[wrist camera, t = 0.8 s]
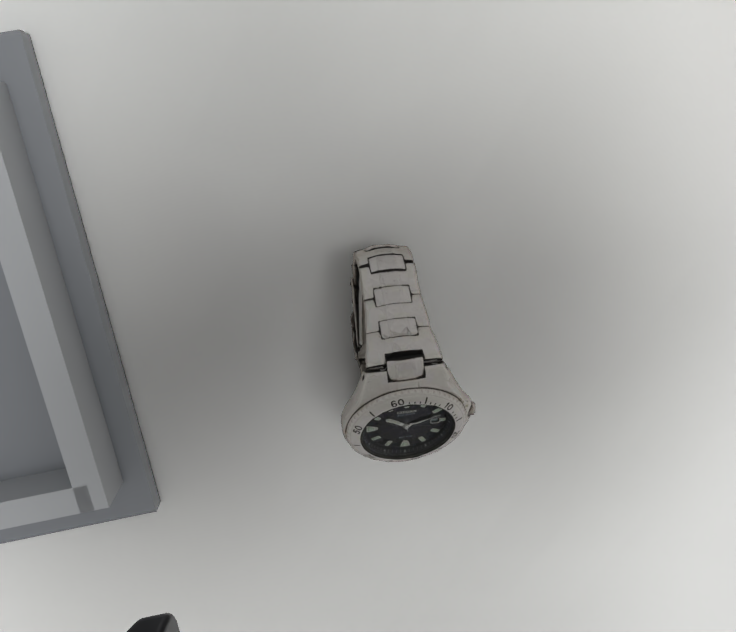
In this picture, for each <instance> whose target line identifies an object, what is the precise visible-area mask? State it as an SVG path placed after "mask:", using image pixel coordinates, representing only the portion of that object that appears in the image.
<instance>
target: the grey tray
mask: <svg viewBox="0 0 736 632" xmlns="http://www.w3.org/2000/svg"><path fill="white" fill-rule="evenodd" d="M159 503H160V499H159V495H158V492H157V488H156V484H155V481H154V477H153V474H152V470H151V467H150V463H149V459H148V456H147V452H146V449H145V445H144V442H143V438H142V434H141V431H140V427H139V424H138V420H137V417H136V413H135V410H134V406H133V402H132V399H131V395H130V392H129V388H128V385H127V381H126V377H125V374H124V370H123V367H122V363H121V360H120V356H119V352H118V349H117V345H116V342H115V338H114V335H113V331H112V327H111V324H110V320H109V317H108V313H107V310H106V306H105V303H104V299H103V295H102V292H101V288H100V285H99V281H98V278H97V274H96V270H95V267H94V263H93V260H92V256H91V253H90V249H89V245H88V242H87V238H86V235H85V231H84V228H83V224H82V220H81V217H80V213H79V210H78V206H77V203H76V199H75V196H74V192H73V188H72V185H71V181H70V178H69V174H68V171H67V167H66V163H65V160H64V156H63V153H62V149H61V146H60V142H59V138H58V135H57V131H56V128H55V124H54V121H53V117H52V113H51V110H50V106H49V103H48V99H47V96H46V92H45V88H44V85H43V81H42V78H41V74H40V71H39V67H38V64H37V60H36V56H35V53H34V49H33V46H32V42H31V39H30V35H29V34H27V33H25V32H23V31H21V30H15V31H8V32H2V33H0V544H1V543H6V542H11V541H16V540H21V539H25V538H30V537H35V536H40V535H45V534H50V533H54V532H59V531H64V530H69V529H74V528H79V527H83V526H88V525H93V524H98V523H103V522H107V521H112V520H117V519H122V518H127V517H132V516H136V515H141V514H146V513H151V512H156V511H157V508H158V506H159Z"/></svg>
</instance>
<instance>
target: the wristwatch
mask: <svg viewBox="0 0 736 632" xmlns="http://www.w3.org/2000/svg"><path fill="white" fill-rule="evenodd" d="M352 272H353V277H352V278H351V282H350V285H351V287H352V303H353V313H352V315H351V317H350V318H351V324H352V338H353V345H354V354H355V359H356V360H358V364H359V367H360V371H361V377H360V380H359V383H358V385H357V387H356V389H355V391H354V393H353V394H352V396H351V398H350V399H349V401H348V402H347V404H346V405H345V407H344V410H343V412H342V415H341V424H342V430H343V434H344V437H345V439H346V440H347V442H348V443H349V444H350V446H351V447H352V448H353V449H354V450H355V451H356V452H358V453H360V454H361V455H363V456H365V457H368V458H371V459H374V460H381V461H390V462H401V461H408V460H413V459H417V458H420V457H423V456H426V455H429V454H432V453H434V452H437V451H438V450H440V449H442V448H443V447H445V446H447V445H448V444H449V443H451V442H452V441H453V440H454V439H455V438H456V437H457V436H458V435H459V434H460V433H461V431H462V429H463V428H464V426H465V424H466V423H467V421H468V419H469V417H470V415H474V413H475V403H474V402H472V401H471V398H470V397H469V396H468V395H467V394H466V393H465V392H464V391H462V389H461V388H460V386H459V385H458V383H457V382H456V380H455V378H454V377H453V375H452V373H451V371H450V370H449V368H447V366H446V364H445V362H443V361H442V354H441V352H440V349H439V346H438V343H437V341H436V338H435V336H434V334H433V332H432V330H431V328H430V323H429V318H428V315H427V312H426V308H425V305H424V302H423V299H422V297H421V293H420V289H419V284H418V279H417V271H416V267H415V264H414V262H413V256H412V254H411V252H410V250H409V248H408V247H407V246H397V245H390V244H386V245H372V246H370V247H368V248H366V249H363V250H358V251H355V252H354V253H353V265H352Z"/></svg>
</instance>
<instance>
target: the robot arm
mask: <svg viewBox="0 0 736 632" xmlns="http://www.w3.org/2000/svg"><path fill="white" fill-rule="evenodd" d="M127 632H180V631H179V627H178V624H177V621H176V619H175V617H174V616H173V615H172V614H170V613H165V614H160V615H155V616H150V617H145V618H142V619H140V620H138V621H137V622H136V623H135V624H134V625H133V626H132V627H131V628H130V629H129V630H128V631H127Z"/></svg>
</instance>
